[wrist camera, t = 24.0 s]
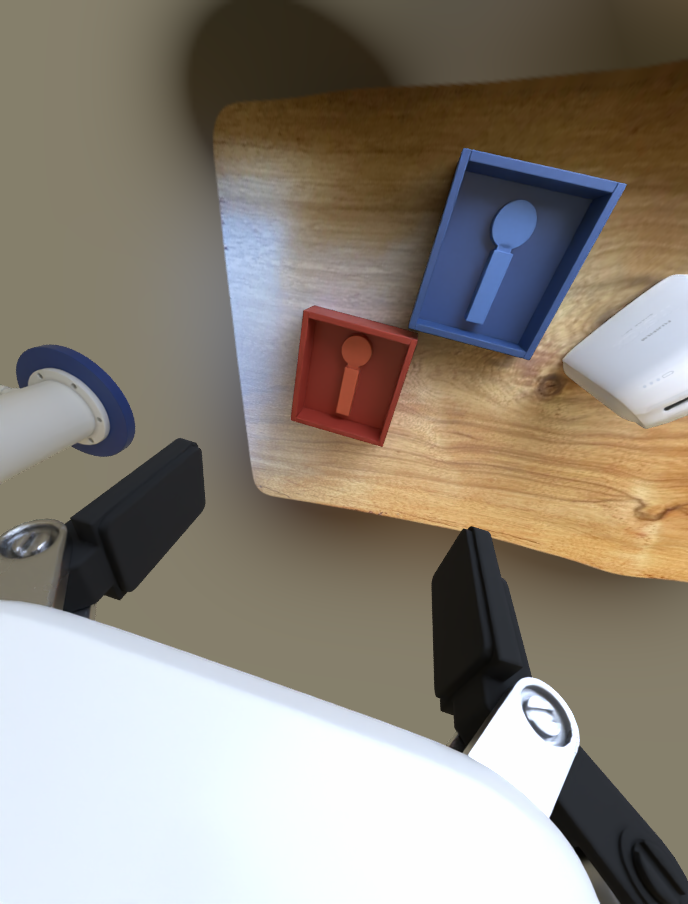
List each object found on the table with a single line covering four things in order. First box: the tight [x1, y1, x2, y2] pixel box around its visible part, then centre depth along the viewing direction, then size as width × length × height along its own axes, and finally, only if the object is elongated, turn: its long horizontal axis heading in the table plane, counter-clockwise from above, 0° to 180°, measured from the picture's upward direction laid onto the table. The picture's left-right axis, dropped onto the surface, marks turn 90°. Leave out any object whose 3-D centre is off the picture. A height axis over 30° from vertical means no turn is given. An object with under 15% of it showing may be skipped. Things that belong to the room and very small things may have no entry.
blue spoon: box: [464, 200, 537, 325], centre depth 26 cm, size 9×3×1 cm, turn 168°
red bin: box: [291, 305, 418, 447], centre depth 34 cm, size 11×12×4 cm
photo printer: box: [562, 275, 688, 429], centre depth 23 cm, size 10×4×12 cm, turn 142°
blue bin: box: [408, 148, 627, 360], centre depth 26 cm, size 11×12×4 cm
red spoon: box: [336, 334, 373, 416], centre depth 34 cm, size 9×3×1 cm, turn 169°
